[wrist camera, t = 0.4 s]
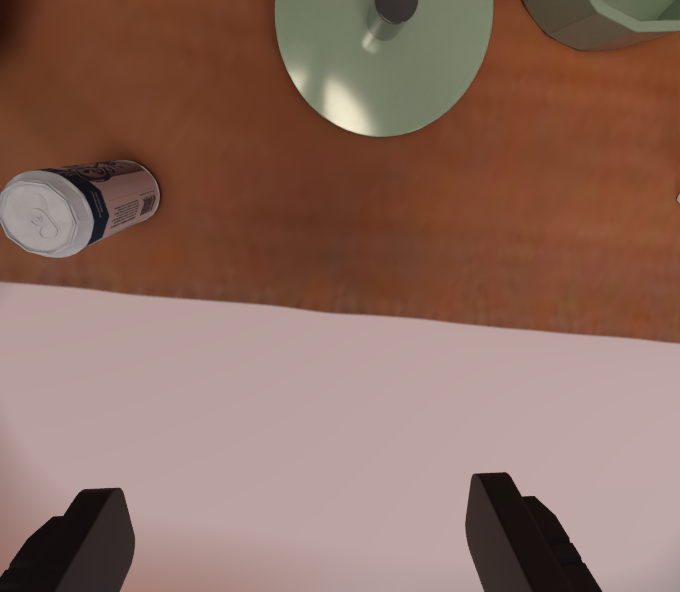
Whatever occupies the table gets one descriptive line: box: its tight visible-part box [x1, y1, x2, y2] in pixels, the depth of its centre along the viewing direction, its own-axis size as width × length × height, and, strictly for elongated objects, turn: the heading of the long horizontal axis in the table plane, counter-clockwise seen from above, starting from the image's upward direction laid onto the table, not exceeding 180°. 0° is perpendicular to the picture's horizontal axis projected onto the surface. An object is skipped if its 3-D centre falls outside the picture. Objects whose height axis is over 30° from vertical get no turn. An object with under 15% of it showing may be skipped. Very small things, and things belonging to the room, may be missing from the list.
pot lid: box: [275, 0, 494, 137], centre depth 28 cm, size 15×15×6 cm
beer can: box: [0, 160, 160, 258], centre depth 28 cm, size 5×5×12 cm
